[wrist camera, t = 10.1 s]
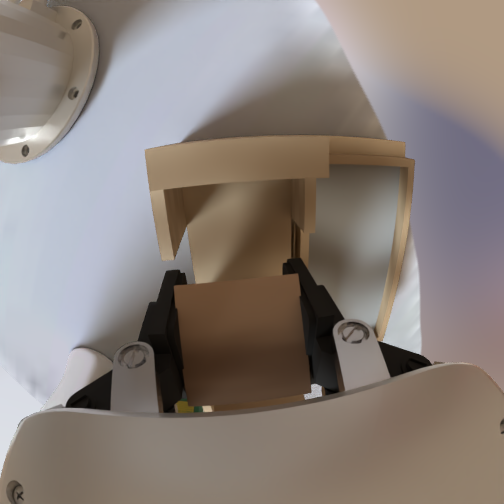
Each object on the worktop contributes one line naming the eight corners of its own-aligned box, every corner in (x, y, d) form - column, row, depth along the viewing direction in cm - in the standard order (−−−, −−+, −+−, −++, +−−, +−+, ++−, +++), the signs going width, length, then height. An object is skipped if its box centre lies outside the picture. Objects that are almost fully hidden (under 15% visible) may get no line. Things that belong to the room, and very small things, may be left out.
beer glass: (65, 371, 23) (24, 479, 9) (67, 332, 21) (7, 462, 7) (119, 396, 25) (95, 512, 11) (131, 362, 23) (98, 506, 9)
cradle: (180, 142, 16) (144, 149, 8) (385, 139, 17) (466, 153, 9) (209, 343, 22) (208, 423, 15) (363, 323, 23) (403, 385, 16)
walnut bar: (173, 285, 8) (188, 406, 8) (297, 273, 9) (311, 392, 8) (207, 302, 19) (213, 357, 18) (263, 296, 19) (269, 351, 19)
